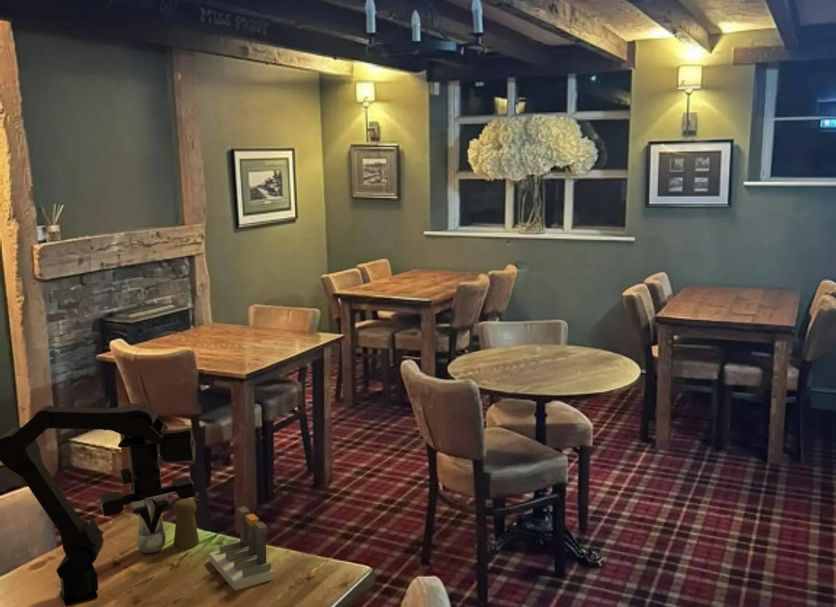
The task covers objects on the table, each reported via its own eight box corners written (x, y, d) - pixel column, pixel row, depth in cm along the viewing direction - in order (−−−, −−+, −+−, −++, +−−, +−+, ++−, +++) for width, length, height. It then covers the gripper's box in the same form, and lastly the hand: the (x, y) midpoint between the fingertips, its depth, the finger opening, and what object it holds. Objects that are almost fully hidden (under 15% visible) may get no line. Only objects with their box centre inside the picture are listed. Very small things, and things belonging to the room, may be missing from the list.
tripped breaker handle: (252, 560, 181) (251, 520, 180) (246, 555, 184) (245, 515, 183) (259, 558, 182) (258, 518, 181) (254, 553, 185) (253, 513, 184)
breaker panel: (234, 590, 173) (234, 575, 172) (209, 561, 186) (209, 547, 186) (273, 579, 178) (273, 564, 177) (246, 551, 191) (245, 537, 190)
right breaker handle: (260, 569, 177) (259, 528, 176) (255, 564, 180) (254, 523, 178) (268, 567, 178) (267, 526, 177) (262, 562, 181) (261, 521, 179)
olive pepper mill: (203, 538, 198) (201, 496, 196) (193, 549, 192) (192, 506, 190) (179, 537, 198) (177, 495, 197) (169, 548, 192) (167, 505, 191)
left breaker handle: (243, 552, 186) (242, 512, 184) (238, 547, 188) (237, 507, 187) (251, 550, 187) (250, 510, 185) (245, 545, 189) (244, 506, 188)
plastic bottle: (131, 554, 189) (127, 473, 186) (149, 542, 196) (145, 463, 193) (155, 558, 187) (151, 476, 184) (172, 545, 194) (168, 466, 191)
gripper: (182, 443, 179) (188, 508, 182) (93, 460, 171) (101, 528, 174) (193, 459, 170) (199, 527, 173) (99, 478, 161) (107, 550, 164)
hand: (152, 532), depth 171 cm, fingers closed
